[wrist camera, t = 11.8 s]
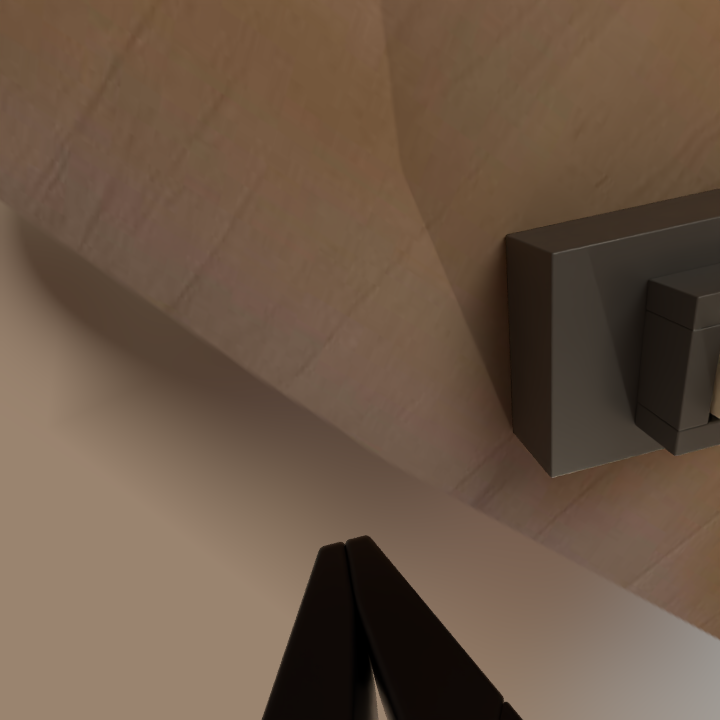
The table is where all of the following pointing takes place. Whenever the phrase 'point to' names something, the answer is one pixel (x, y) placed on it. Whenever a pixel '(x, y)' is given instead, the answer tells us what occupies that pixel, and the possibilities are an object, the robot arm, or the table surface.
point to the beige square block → (716, 394)
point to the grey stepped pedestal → (616, 333)
